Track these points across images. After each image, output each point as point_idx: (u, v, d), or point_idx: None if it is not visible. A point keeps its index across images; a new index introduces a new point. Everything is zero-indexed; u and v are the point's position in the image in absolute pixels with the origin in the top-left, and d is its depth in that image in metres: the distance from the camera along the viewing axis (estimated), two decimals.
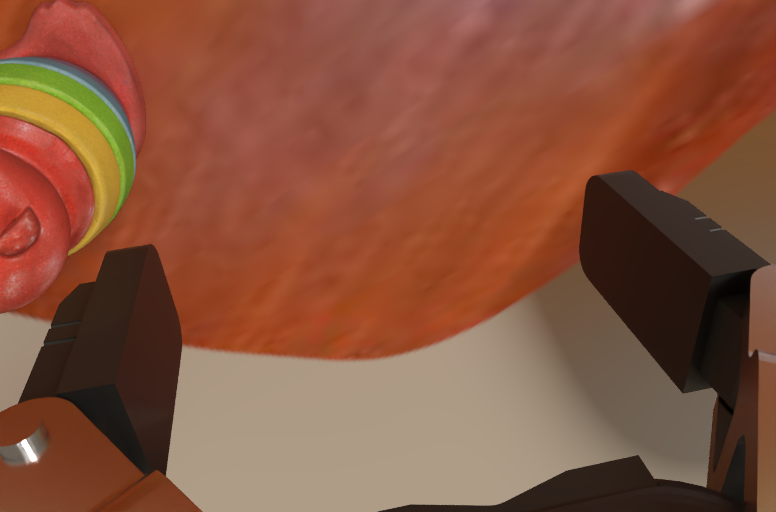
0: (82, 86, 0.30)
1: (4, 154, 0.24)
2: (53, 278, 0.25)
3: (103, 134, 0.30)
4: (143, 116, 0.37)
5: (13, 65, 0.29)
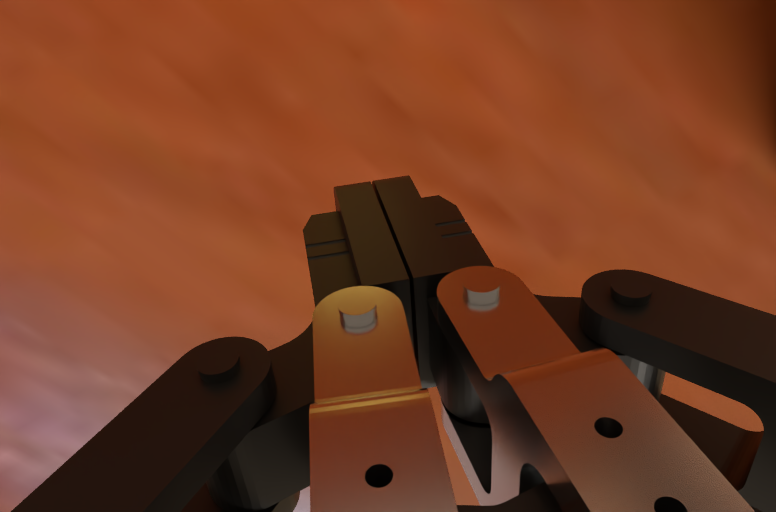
0: None
1: None
2: None
3: None
4: None
5: None
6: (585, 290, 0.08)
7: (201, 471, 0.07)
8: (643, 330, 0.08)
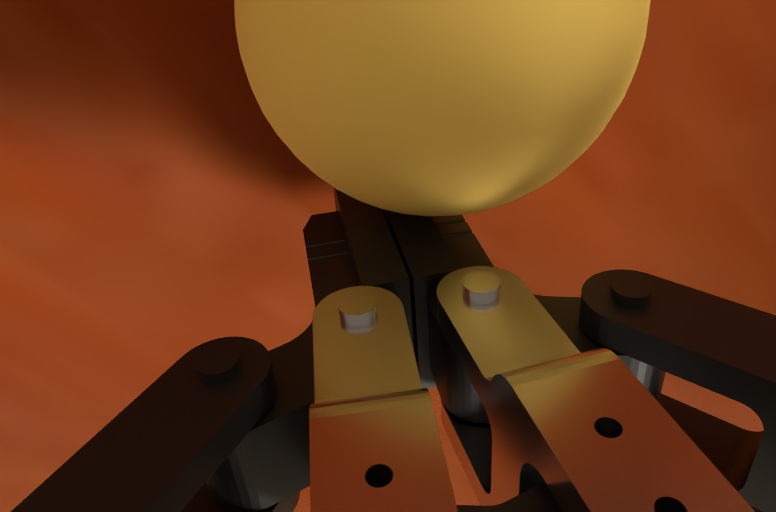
0: None
1: None
2: None
3: None
4: None
5: None
6: (585, 290, 0.08)
7: (201, 471, 0.07)
8: (643, 330, 0.08)
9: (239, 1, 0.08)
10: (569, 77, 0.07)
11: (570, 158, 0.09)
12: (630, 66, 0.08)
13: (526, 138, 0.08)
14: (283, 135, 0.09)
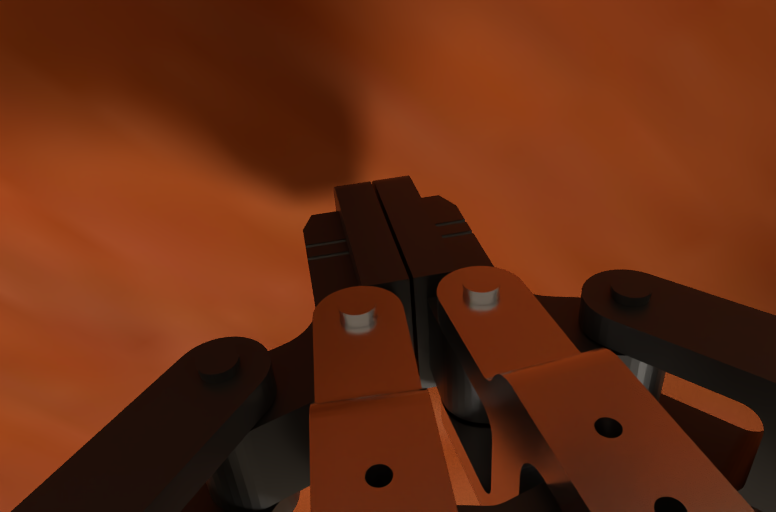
0: None
1: None
2: None
3: None
4: None
5: None
6: (585, 290, 0.08)
7: (201, 470, 0.07)
8: (643, 330, 0.08)
9: None
10: None
11: None
12: None
13: None
14: None
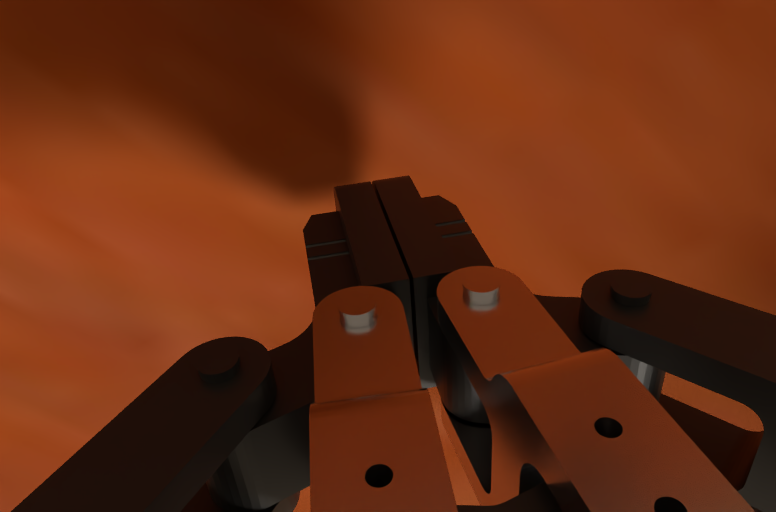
0: None
1: None
2: None
3: None
4: None
5: None
6: (585, 290, 0.08)
7: (201, 470, 0.07)
8: (643, 330, 0.08)
9: None
10: None
11: None
12: None
13: None
14: None
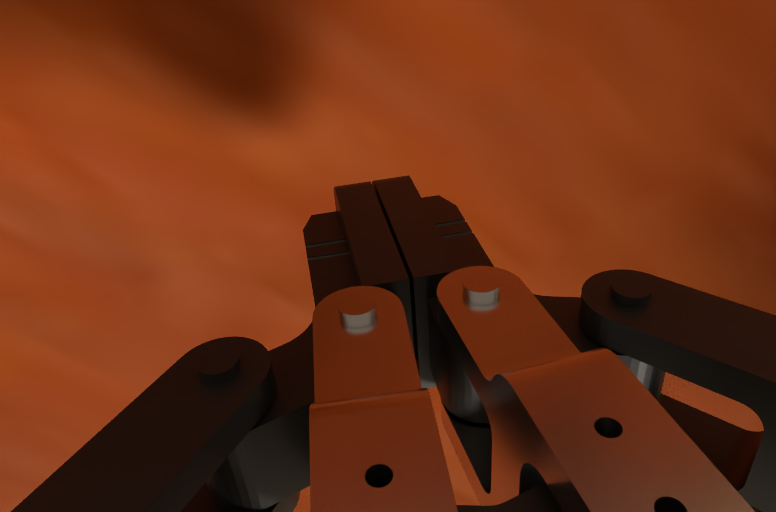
0: None
1: None
2: None
3: None
4: None
5: None
6: (585, 290, 0.08)
7: (201, 471, 0.07)
8: (643, 330, 0.08)
9: None
10: None
11: None
12: None
13: None
14: None
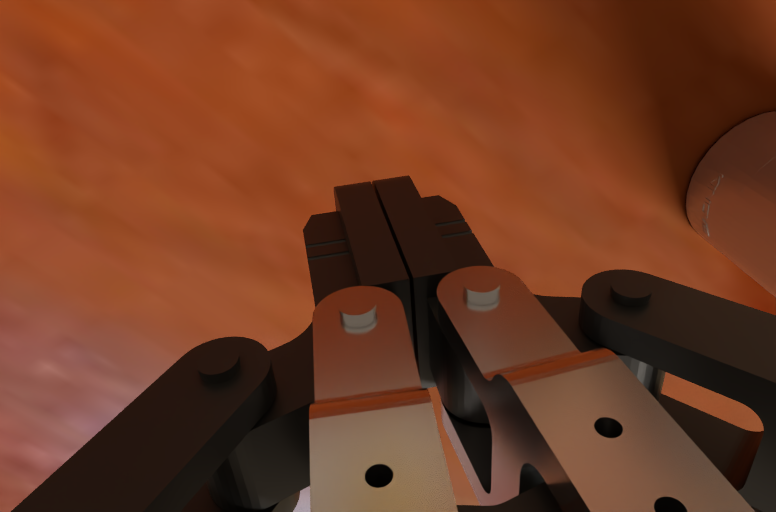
0: None
1: None
2: None
3: None
4: None
5: None
6: (585, 290, 0.08)
7: (201, 470, 0.07)
8: (643, 330, 0.08)
9: None
10: None
11: None
12: None
13: None
14: None
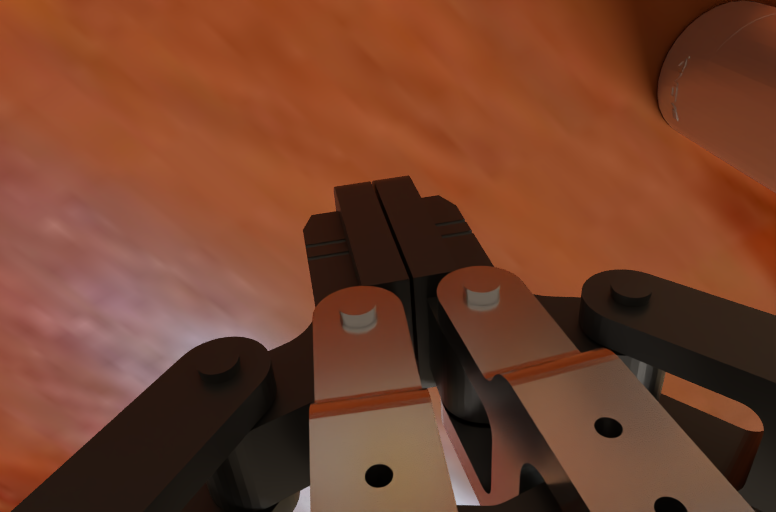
0: None
1: None
2: None
3: None
4: None
5: None
6: (585, 290, 0.08)
7: (201, 471, 0.07)
8: (643, 330, 0.08)
9: None
10: None
11: None
12: None
13: None
14: None
